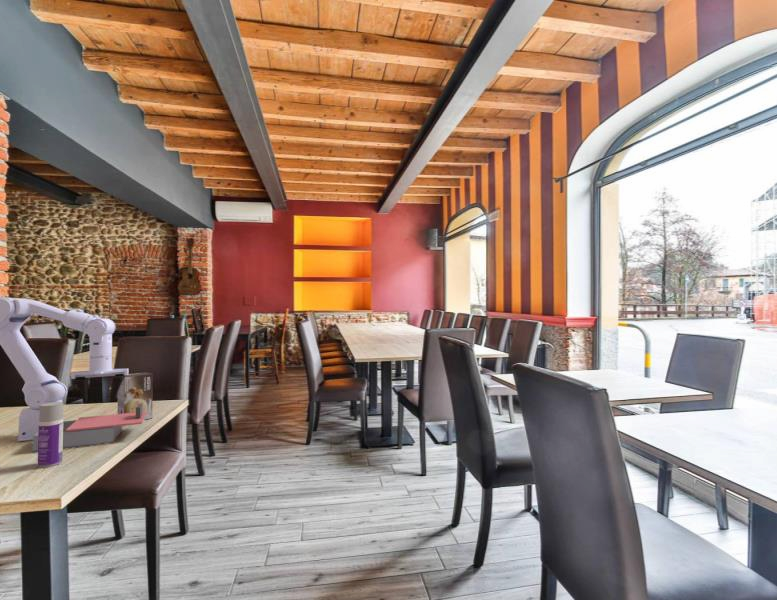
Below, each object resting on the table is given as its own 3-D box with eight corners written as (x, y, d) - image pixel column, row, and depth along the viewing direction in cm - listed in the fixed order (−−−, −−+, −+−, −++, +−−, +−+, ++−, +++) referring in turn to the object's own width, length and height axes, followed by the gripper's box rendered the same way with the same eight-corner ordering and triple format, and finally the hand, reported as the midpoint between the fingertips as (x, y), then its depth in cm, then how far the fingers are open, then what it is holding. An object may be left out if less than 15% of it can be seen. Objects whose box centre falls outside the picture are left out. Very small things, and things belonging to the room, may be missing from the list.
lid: (65, 431, 108) (66, 417, 108) (79, 419, 121) (80, 406, 121) (141, 423, 116) (141, 410, 116) (147, 412, 129) (147, 400, 129)
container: (34, 469, 94) (36, 406, 95) (40, 462, 98) (42, 402, 99) (59, 465, 96) (61, 404, 97) (64, 459, 100) (66, 400, 101)
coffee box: (145, 415, 143) (146, 371, 143) (152, 418, 139) (153, 373, 139) (116, 421, 135) (117, 374, 136) (123, 424, 132) (124, 376, 132)
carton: (32, 452, 105) (33, 435, 105) (50, 437, 118) (51, 422, 118) (112, 443, 113) (113, 427, 113) (121, 429, 125) (122, 415, 126)
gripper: (68, 359, 116) (67, 405, 116) (125, 356, 122) (125, 399, 122) (74, 357, 122) (74, 400, 122) (129, 354, 129) (129, 395, 128)
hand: (100, 399), depth 122 cm, fingers open, 7 cm apart
